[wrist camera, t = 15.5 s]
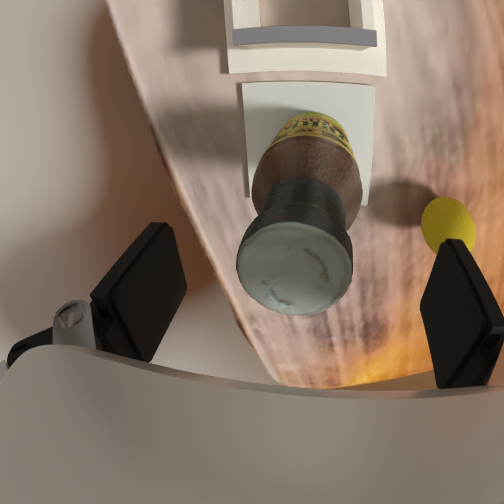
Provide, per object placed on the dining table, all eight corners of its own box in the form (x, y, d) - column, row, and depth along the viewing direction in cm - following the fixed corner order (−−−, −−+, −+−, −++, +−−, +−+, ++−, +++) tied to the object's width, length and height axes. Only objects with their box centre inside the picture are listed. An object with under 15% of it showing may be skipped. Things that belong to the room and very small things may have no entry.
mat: (373, 85, 22) (374, 86, 22) (366, 203, 29) (367, 205, 28) (243, 83, 24) (241, 83, 24) (251, 198, 31) (250, 200, 30)
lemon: (452, 179, 25) (486, 213, 18) (459, 223, 27) (488, 265, 21) (407, 193, 27) (431, 233, 21) (417, 237, 29) (438, 283, 23)
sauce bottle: (345, 109, 23) (415, 190, 7) (346, 173, 27) (383, 340, 11) (274, 110, 25) (194, 190, 9) (280, 173, 28) (226, 333, 12)
